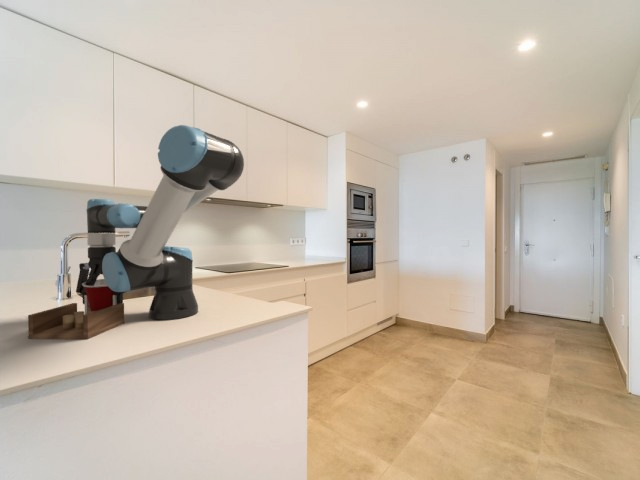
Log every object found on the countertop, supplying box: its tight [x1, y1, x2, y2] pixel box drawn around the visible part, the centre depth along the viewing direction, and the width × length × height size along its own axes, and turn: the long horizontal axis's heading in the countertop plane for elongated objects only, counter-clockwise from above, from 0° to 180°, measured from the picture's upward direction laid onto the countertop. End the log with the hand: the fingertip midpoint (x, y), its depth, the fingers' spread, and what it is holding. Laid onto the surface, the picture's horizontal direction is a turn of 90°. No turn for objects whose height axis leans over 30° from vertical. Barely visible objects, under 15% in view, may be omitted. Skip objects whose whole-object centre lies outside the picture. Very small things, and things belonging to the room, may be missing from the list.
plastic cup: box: [82, 278, 115, 312], centre depth 100 cm, size 11×11×12 cm
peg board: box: [27, 302, 125, 340], centre depth 86 cm, size 16×14×6 cm
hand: (103, 313), depth 100 cm, fingers closed on plastic cup, 9 cm apart
